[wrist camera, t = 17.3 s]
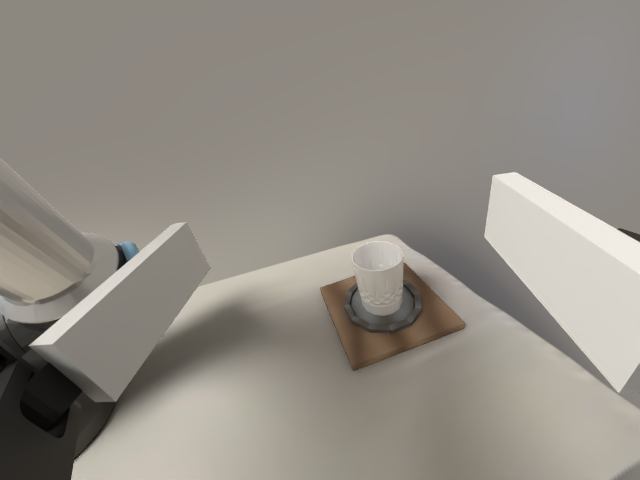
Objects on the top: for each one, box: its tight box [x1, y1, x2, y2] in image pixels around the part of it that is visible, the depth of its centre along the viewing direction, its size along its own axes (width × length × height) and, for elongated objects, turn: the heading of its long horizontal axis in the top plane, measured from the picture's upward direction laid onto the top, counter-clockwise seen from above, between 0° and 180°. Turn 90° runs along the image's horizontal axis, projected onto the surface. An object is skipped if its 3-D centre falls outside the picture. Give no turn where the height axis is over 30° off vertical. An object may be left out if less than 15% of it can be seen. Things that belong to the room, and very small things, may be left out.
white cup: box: [351, 241, 404, 316], centre depth 43 cm, size 8×8×10 cm
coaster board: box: [320, 262, 465, 371], centre depth 46 cm, size 18×18×2 cm
